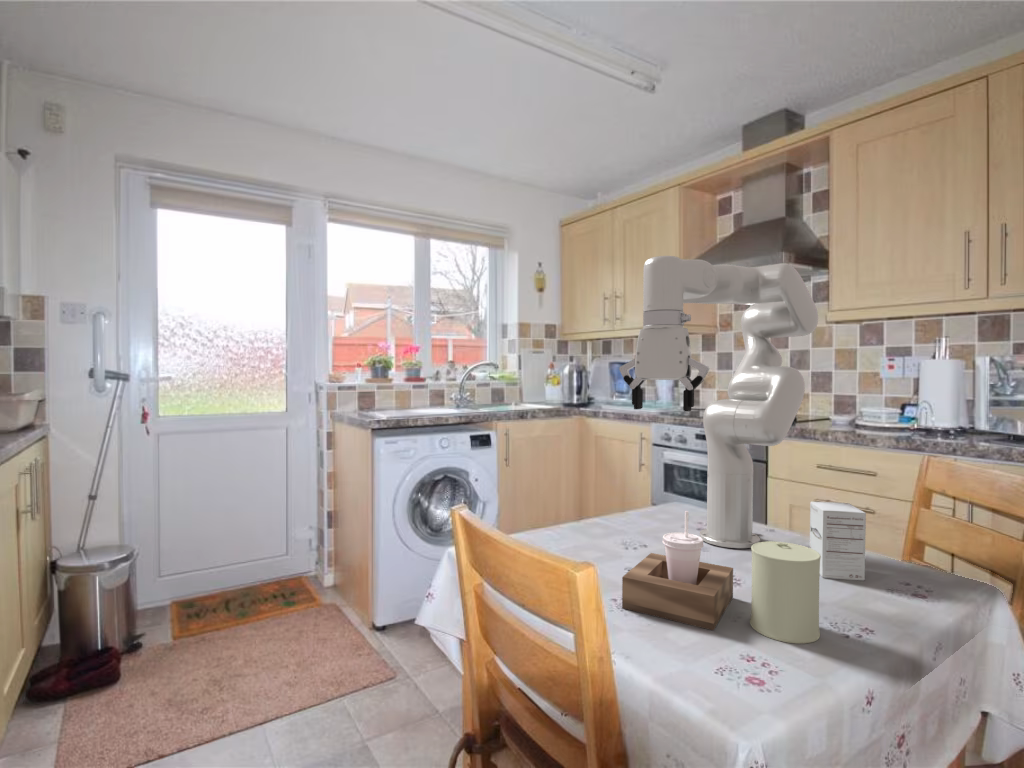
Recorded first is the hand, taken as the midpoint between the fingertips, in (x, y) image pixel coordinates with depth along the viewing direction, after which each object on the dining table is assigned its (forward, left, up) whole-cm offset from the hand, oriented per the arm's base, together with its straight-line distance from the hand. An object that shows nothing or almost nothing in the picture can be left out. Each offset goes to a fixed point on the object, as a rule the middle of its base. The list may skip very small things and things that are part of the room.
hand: (662, 409), depth 107 cm
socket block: (+16, +8, -30) cm, 35 cm away
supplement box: (-14, +29, -31) cm, 44 cm away
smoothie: (+16, +8, -30) cm, 35 cm away
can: (+17, +24, -31) cm, 42 cm away
